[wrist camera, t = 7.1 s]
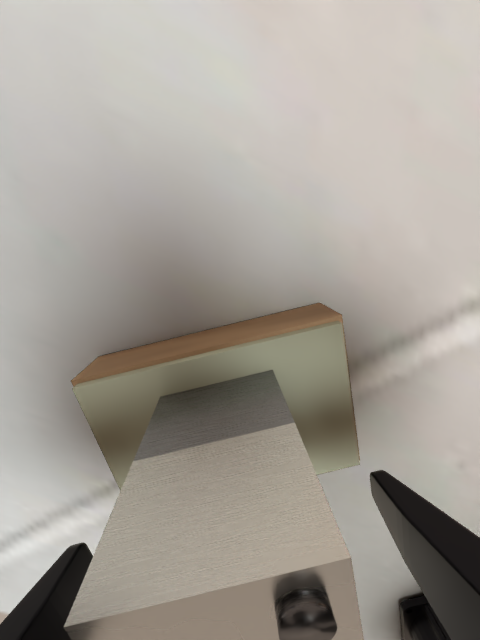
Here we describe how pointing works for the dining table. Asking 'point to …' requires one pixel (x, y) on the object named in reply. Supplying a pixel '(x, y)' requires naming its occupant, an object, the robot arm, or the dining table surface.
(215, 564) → the block
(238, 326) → the riser
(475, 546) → the robot arm
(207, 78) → the dining table surface
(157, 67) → the dining table surface
